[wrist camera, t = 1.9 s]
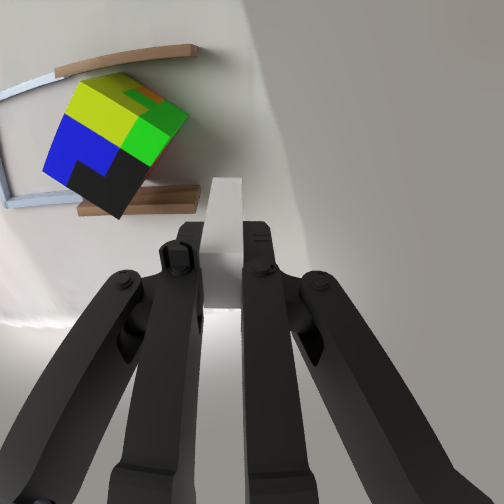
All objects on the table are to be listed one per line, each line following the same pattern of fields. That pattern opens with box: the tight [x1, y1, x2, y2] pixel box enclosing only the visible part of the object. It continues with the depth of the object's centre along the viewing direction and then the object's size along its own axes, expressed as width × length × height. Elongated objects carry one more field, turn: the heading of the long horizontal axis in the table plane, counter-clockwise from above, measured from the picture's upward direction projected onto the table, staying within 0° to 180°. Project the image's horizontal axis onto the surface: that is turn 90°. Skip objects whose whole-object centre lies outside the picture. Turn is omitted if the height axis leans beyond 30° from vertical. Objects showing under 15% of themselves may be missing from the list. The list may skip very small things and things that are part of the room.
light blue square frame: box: [0, 72, 85, 209], centre depth 29 cm, size 18×17×2 cm
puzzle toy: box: [42, 73, 189, 220], centre depth 27 cm, size 10×10×10 cm
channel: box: [55, 44, 200, 216], centre depth 29 cm, size 18×15×5 cm
